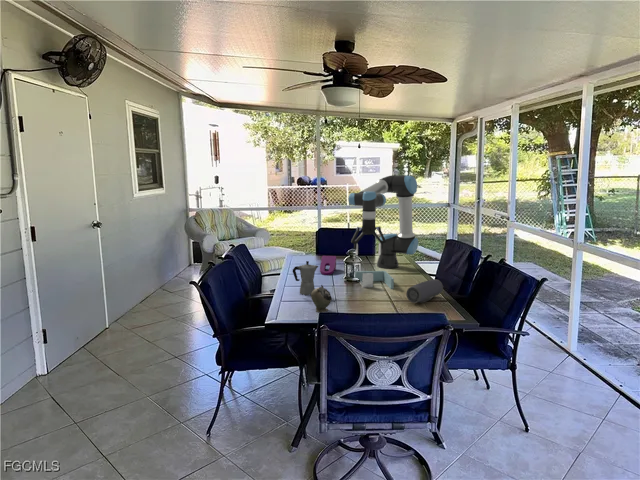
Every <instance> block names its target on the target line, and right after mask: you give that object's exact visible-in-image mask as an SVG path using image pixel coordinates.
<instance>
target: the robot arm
mask: <svg viewBox="0 0 640 480" xmlns="http://www.w3.org/2000/svg"><path fill="white" fill-rule="evenodd" d="M417 191H418V183H417V179H416V178H415V177H414V176H413V175H407V174H406V175H405V174H404V175H403V174H402V175H399V174H398V175H393V174H392V175H388V176H385V177H382V178H379V179H378V180H376V182H375V183H373V184H372V185H369V186H368V187H366V188H364V189H362V190H361V191H359V192H357V193H356V192H352V193H349V195H348V199H347V200H348V204H349V205H350V206H355V207H356V206H358V207H362V220H361V221H362V222H361V223H362V225H361V226H356V229H355V232H354V234H353V236H352V238H351V241H350V242H351V244H353V249H354V250H355V256H359V255H358V254H359V244H358V243H359V241H360V240H361V239H362V238H363V237H364V236H365V235H366V236H368V235H373V236H374V237H375V238H376V240H377V241H378V255H379V256H378V259H377V261H376V267H378V268H381V269H396V268H399V262H398V258H397V254H404V255H415V253H416V252H417V250H418V248H419V239H418V237H416V234H415V232H414V231H413V200H412V199H413V197H414V196H415V194H416V193H417ZM385 193H386V194H387V193H388V194H389V193H391V194H395V197H396V198H397V199H398V216H399V218H398V221H399V223H398V224H399V233H398V234H397V233H385V234H384V233H383V232H382V228H381V226H376V217H377V215H376V213H377V209H376V208H380V207H383V206H385V204H386V203H387V197H386V196H385V195H384V194H385ZM361 231H362V232H361ZM376 231H378V233H379V235H380V237H379V235H377V233H376ZM360 232H361V233H360ZM359 233H360V234H359ZM358 235H359V236H358Z"/></svg>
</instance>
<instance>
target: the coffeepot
mask: <svg viewBox="0 0 640 480" xmlns="http://www.w3.org/2000/svg"><path fill="white" fill-rule="evenodd" d="M309 262H310V261H308V260H306V262H305V263H306V264H301V265H299V266H294V267H293V269H292V273H293V274H292V275H293V276H294V279H295V281H296V282H299V281H300V279H301V281H300V288H299V294H300V295H304V296H311V293H312V291H313V290H314V289H316V287H315V284H314V278H315V272H316V271H317V269H318V267H319V266H318V265H315V264H309ZM296 271H299V272H300V278H298V275H297V272H296Z"/></svg>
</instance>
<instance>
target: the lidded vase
mask: <svg viewBox="0 0 640 480" xmlns="http://www.w3.org/2000/svg"><path fill="white" fill-rule="evenodd" d="M310 298H311V301H312V303H313V304H314V306H315V312H316V313H317V312H318V313H326V312H328V311H329V308H328V307H329V305H330V304H331V303H332V300H333V298H332V295H331V292H330V291H329V290H328V289H327V288H326V287H324V286H323V284H321V285H320V286H319V287H315V289H314V290H313V291H312V293H311V295H310Z"/></svg>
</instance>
